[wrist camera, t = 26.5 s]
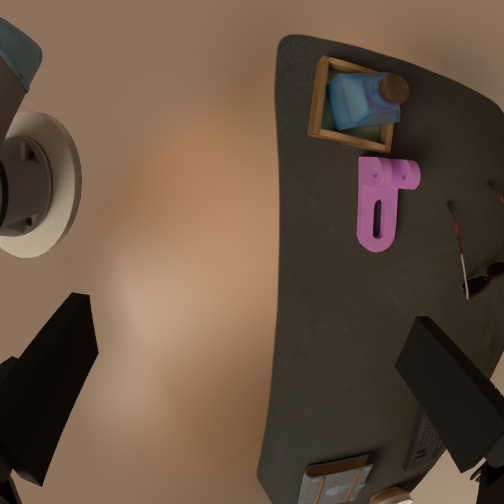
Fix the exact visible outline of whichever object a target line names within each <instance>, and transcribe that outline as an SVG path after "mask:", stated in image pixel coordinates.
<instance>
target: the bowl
mask: <svg viewBox="0 0 504 504" xmlns="http://www.w3.org/2000/svg"><path fill="white" fill-rule="evenodd" d="M369 504H413V499H411V497H410V495H409V493H408V492H407V491H405V490H403V489H399V487H393V488H389V489H386V490H384V491H382V492H380V493H378V494H376V495H375V496H373V497H372V498H371V499H370V503H369Z"/></svg>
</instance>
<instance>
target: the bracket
mask: <svg viewBox="0 0 504 504" xmlns="http://www.w3.org/2000/svg"><path fill="white" fill-rule="evenodd" d="M419 182H420V169H419V166H418V164H417V163H416V162H415V161H412V160H402V159H387V158H381V157H359V188H358V217H357V237H358V240H359V242H360V244H361V245H362V246H363V247H365V248H366V249H368V250H369V251H372V252H381V251H383V250H385V249H387V248H388V247H389V246H390V245H391V243H392V242H393V240H394V237H395V230H396V217H397V200H398V188H401V189H412V190H413V189H416V188H417V186H418V185H419ZM379 199H380V201H381V222H380V232H379V234H378V235H377V236H376V237H373V220H374V204H375V202H376V201H377V200H379Z"/></svg>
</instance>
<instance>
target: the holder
mask: <svg viewBox="0 0 504 504" xmlns="http://www.w3.org/2000/svg"><path fill="white" fill-rule="evenodd" d="M351 73H380V72H377V71H374V70H371V69H368V68H365V67H362V66H359V65H356V64H353V63H349V62H346V61H343V60H339V59H335V58H332V57H328V56H323V57H322V58H321V59H320V60H319V61H318V62H317V68H316V76H315V83H314V91H313V98H312V106H311V113H310V120H309V127H308V133H307V135H308V136H312V137H317V138H321V139H326V140H330V141H335V142H339V143H343V144H347V145H352V146H356V147H359V148H363V149H367V150H371V151H374V152H378V153H390V151H391V144H392V136H393V128H394V123H391V124H385V125H380V126H373V127H364V128H355V129H347V130H339V131H335V126H334V122H333V117H332V113H331V109H330V104H329V100H328V96H327V92H326V85H327V84H328V83H330V82H331V81H332V80H334V79H335V78H336V77H338V76H339V75H340V74H351Z"/></svg>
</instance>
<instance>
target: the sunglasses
mask: <svg viewBox="0 0 504 504" xmlns="http://www.w3.org/2000/svg"><path fill="white" fill-rule="evenodd" d="M486 185H487V186H488V187H489V188H491V189H492V190H493V191H494V192H495V193H496V194H497V196H498V197H499V198H500V199H501V201H502V202H503V204H504V200H503V198H502V197H501V196H500V195H499V193H498V192H497V191H496V190H495V189H494V188H493V187H492V185H491V184H490V183H488V182H487V184H486ZM447 205H448V208H449V210H450V212H451V214H452V218H453V221H454V224H455V228H456V231H457V237H458V243H459V249H460V254H461V259H462V265H463V271H464V278H465V282H464V283H463V284H462V285H461V287H462V289H463V293H464V294H465V295H466V298H467V299H470V298H472V297H474V296H476V295H478V294H479V293H481V292H482V291H483V290H485V289H486V288H487V286H488V285H489V284H490V281H491V280H492V279H496V278H499V277H501V276H503V275H504V262H502V261H496V262H493V263H491V264H490V265H488V266H487V268H486V270H487V274H488V276H489V277H484V276H479V277H472V278H470V279H468V280H466V274H465V267H464V261H463V255H462V253H463V251H462V246H461V240H460V234H459V229H458V226H457V222H456V219H455V216H454V212H453V209H452V206H451V204H450V202H449V203H448V204H447Z"/></svg>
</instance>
